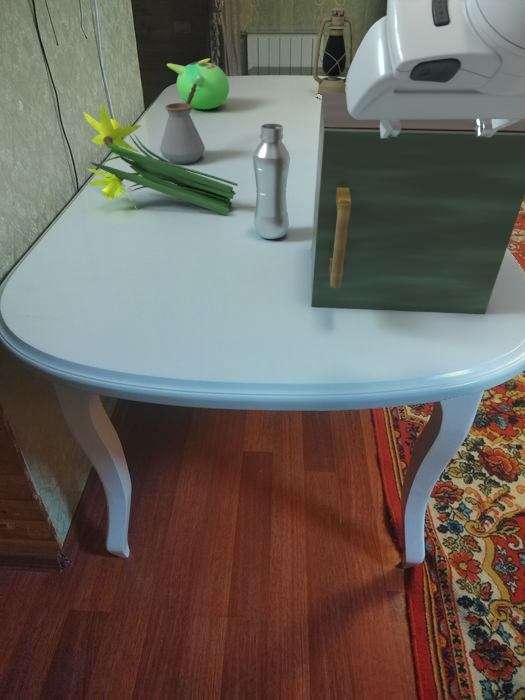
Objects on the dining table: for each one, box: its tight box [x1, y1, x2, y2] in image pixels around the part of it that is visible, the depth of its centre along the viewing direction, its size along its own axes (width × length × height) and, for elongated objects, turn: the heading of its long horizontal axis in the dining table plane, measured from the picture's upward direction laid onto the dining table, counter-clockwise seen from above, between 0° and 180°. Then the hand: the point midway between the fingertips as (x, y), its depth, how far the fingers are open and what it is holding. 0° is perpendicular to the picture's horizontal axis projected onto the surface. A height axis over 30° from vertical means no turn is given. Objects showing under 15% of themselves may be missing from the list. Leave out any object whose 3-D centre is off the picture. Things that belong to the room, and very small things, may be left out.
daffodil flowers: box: [82, 104, 239, 217], centre depth 105 cm, size 17×15×35 cm
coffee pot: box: [159, 83, 206, 165], centre depth 131 cm, size 21×12×15 cm, turn 169°
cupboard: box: [310, 93, 525, 302], centre depth 78 cm, size 18×26×26 cm
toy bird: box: [166, 58, 230, 111], centre depth 167 cm, size 18×17×15 cm
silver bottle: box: [252, 123, 291, 240], centre depth 92 cm, size 6×7×20 cm
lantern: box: [312, 0, 359, 95], centre depth 176 cm, size 14×12×30 cm
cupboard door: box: [310, 128, 525, 315], centre depth 68 cm, size 7×26×26 cm, turn 86°
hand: (434, 131), depth 49 cm, fingers open, 8 cm apart
